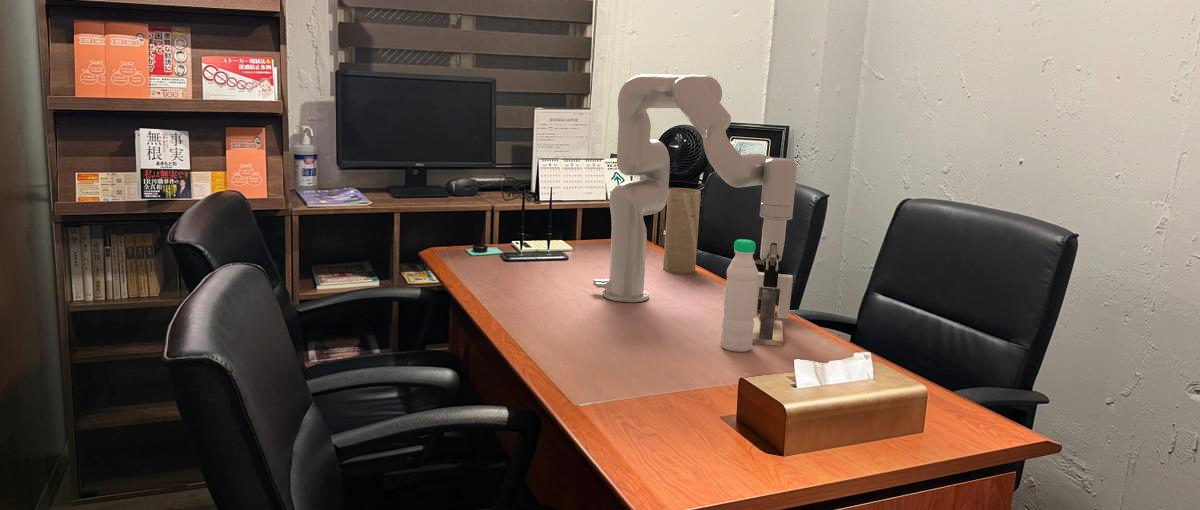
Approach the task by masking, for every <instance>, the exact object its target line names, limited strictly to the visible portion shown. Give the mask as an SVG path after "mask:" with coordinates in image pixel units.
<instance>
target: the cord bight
mask: <svg viewBox="0 0 1200 510" xmlns="http://www.w3.org/2000/svg"><path fill="white" fill-rule="evenodd" d="M793 279H794V276H793V274H781V273H778V283H777V287H776V288H773V289H775V290H776V289H777V290H779V296H778V297H779V298H778V306H777V318H778V319H779V318H780V319H789V318H790V317H789V315H790V307H791V298H792V288H793ZM763 282H764V273H763V272H758V278H757V295H756V306H755V313H754V316H757V315H758V311H757V306H758V296H759V287H763V288H772V287H764V286H763Z"/></svg>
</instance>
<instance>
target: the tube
mask: <svg viewBox="0 0 1200 510" xmlns="http://www.w3.org/2000/svg"><path fill="white" fill-rule="evenodd" d="M701 194H702V191H701V190H699V189H696V188H695V189H694V188H687V187H685V188H684V187H672V188H671V187H670V188H668V198H667V202H666V216H665V219H666V220H665V234H664V249H663V250H664V251H663V263H662V265H663V267H662V269H663V271H665V272H668V273H671V274H683V275H685V274H693V273H694V272H696V264H697V250H698V235H699V221H700V208H701V207H700V206H701Z"/></svg>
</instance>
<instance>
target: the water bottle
mask: <svg viewBox="0 0 1200 510" xmlns="http://www.w3.org/2000/svg"><path fill="white" fill-rule="evenodd" d="M756 248H757V246H756V242H755V241H754V240H751V239H742V238H739V239H736V240H735V241H734V243H733V250H734V257H733V258H732V260H731V262H730V264H728V267H727V269H726V281H725V282H726V283H725V289H724V301H723V303H724V304H723V318H722V332H721V337H720V338H721V339H720V345H721V347H722V348H723V350H726V351H729V352H734V353H745V352H749V351H750V350H752V348H753V343H752V341H753V337H752V333H753V328H754V319H753V318H754V317H755V315H754V313H755V306H756V295H757V278H758V270H757V267H756V266H755V261H754V259H755V258H754V254H755V251H756Z"/></svg>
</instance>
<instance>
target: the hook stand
mask: <svg viewBox="0 0 1200 510" xmlns="http://www.w3.org/2000/svg"><path fill="white" fill-rule="evenodd" d="M777 295H778V293H777V290H776V289H773V288H763V287H762V297H761V308H760V311H759V318H757V317H756V318H753V319H754V328H753V333H752V337H753V341H752V344H758V345H768V346H777V347H784V334H783V333H784V332H783V321H782V320H777V319H776V320H775V314H776V304H777Z"/></svg>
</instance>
